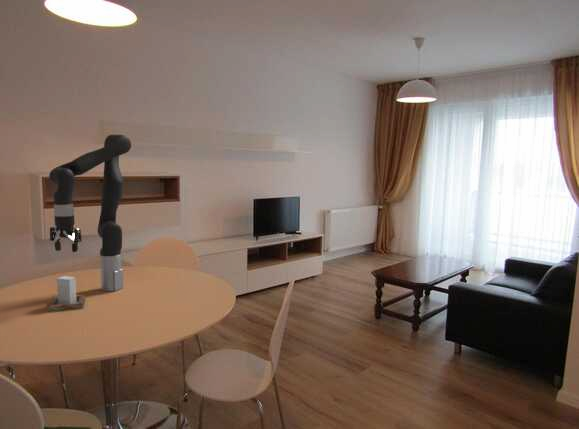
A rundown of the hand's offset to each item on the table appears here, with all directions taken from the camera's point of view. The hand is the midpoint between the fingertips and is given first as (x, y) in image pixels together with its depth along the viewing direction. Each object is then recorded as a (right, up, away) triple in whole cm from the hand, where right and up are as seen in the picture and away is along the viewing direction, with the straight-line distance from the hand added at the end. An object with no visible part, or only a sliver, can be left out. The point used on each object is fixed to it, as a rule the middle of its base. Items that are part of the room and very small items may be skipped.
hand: (66, 251), depth 178 cm
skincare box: (+1, -23, -2) cm, 23 cm away
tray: (+1, -23, -2) cm, 23 cm away
